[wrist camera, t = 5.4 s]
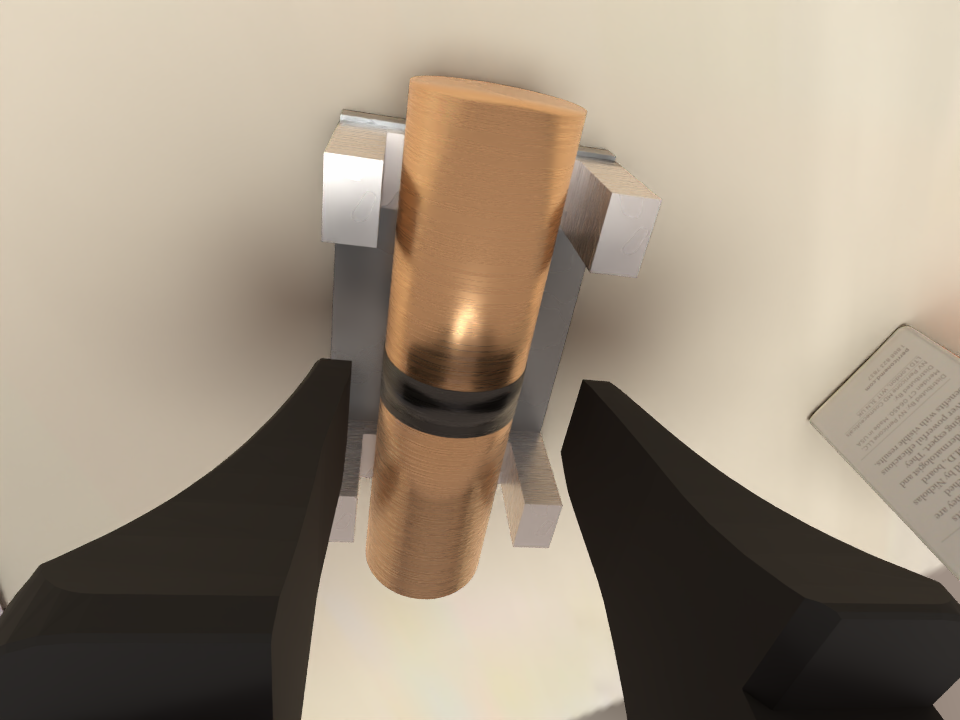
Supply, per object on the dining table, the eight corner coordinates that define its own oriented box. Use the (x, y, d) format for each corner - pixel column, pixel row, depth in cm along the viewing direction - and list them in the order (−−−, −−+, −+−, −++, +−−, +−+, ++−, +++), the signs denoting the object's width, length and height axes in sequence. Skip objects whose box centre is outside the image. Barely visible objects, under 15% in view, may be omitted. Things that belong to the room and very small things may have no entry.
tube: (479, 513, 18) (480, 605, 15) (374, 501, 18) (355, 593, 15) (574, 97, 12) (603, 126, 9) (416, 69, 12) (399, 90, 9)
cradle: (328, 450, 18) (313, 544, 15) (343, 109, 13) (324, 146, 10) (525, 461, 19) (547, 550, 16) (608, 150, 14) (664, 195, 11)
